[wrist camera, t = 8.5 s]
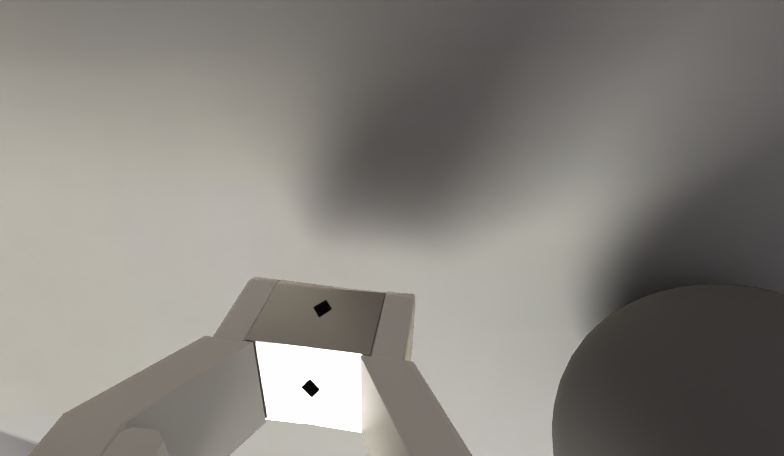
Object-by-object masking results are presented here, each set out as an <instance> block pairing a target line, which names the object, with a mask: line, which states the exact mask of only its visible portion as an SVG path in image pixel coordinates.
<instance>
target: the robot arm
mask: <svg viewBox="0 0 784 456" xmlns="http://www.w3.org/2000/svg"><path fill="white" fill-rule="evenodd" d="M414 314H415V295H414V294H407V293H396V292H377V291H368V290H358V289H348V288H339V287H332V286H324V285H317V284H309V283H302V282H294V281H287V280H276V279H268V278H260V277H254V278H252V279H251V280H249V281H248V283H247V284H246V286H245V287H244V289H243V291H242V292H241V294H240V295H239V297H238V298H237V300H236V302H235V303H234V305H233V306H232V308H231V309H230V311H229V312H228V314H227V316H226V317H225V319H224V320H223V322H222V323H221V325H220V326H219V328H218V330H217V331H216V333H215V334H214V336H213V337H209V336H204V337H202V338H200V339H198V340H197V341H195V342H193V343H191V344H189V345H188V346H186V347H184V348H182V349H180V350H178V351H177V352H175V353H173V354H171V355H169V356H168V357H166V358H164V359H162V360H160V361H159V362H157V363H155V364H153V365H151V366H149V367H148V368H146V369H144V370H142V371H140V372H139V373H137V374H135V375H133V376H131V377H129V378H128V379H126V380H124V381H122V382H120V383H119V384H117V385H115V386H113V387H111V388H110V389H108V390H106V391H104V392H102V393H100V394H99V395H97V396H95V397H93V398H91V399H90V400H88V401H86V402H84V403H82V404H81V405H79V406H77V407H75V408H73V409H71V410H70V411H68V412H66V413H64V414H63V415H62V416H61V417H60V419H59V420H58V421H57V422H56V423H55V425H54V426H53V427H52V428H51V429H50V430H49V432H48V433H47V434H46V435H45V436H44V438H43V439H42V440H41V441H40V442H39V443H38V445H37V446H36V447H35V448H34V449H33V451H32V452H31V453H30V454H29V455H28V456H229V455H230V454H231V453H232V452H234V451H235V450H236V449H237V448H238V447H239V446H240V445H241V444H242V443H243V442H245V441H246V440H247V439H248V438H249V437H250V436H251V435H252V434H253V433H255V432H256V431H257V430H258V429H259V428H260V427H261V426H262V425H263V424H264V423H266V420H265V419H268V420H277V421H286V422H295V423H304V424H313V425H319V426H325V427H331V428H337V429H343V430H349V431H355V432H361V435H362V438H363V441H364V443H365V446H366V449H367V452H368V454H369V456H472V454H471V453H470V451H469V450H468V448H467V446H466V445H465V443H464V442H463V440H462V438H461V437H460V435H459V434H458V432H457V430H456V429H455V427H454V426H453V424H452V423H451V421H450V419H449V418H448V416H447V415H446V413H445V411H444V410H443V408H442V407H441V405H440V403H439V402H438V400H437V399H436V397H435V395H434V394H433V392H432V391H431V389H430V387H429V386H428V384H427V383H426V381H425V379H424V378H423V376H422V375H421V373H420V371H419V370H418V368H417V367H416V365H415V364H414V362H411V354H412V342H413V328H414Z"/></svg>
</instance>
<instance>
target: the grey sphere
mask: <svg viewBox="0 0 784 456" xmlns="http://www.w3.org/2000/svg"><path fill="white" fill-rule="evenodd" d="M552 439H553V454H554V456H784V294H781V293H778V292H775V291H770V290H765V289H761V288H755V287H747V286H738V285H725V284H703V285H690V286H683V287H676V288H672V289H667V290H663V291H660V292H657V293H653V294H650V295H648V296H645V297H643V298H641V299H638V300H636V301H634V302H631V303H629V304H627V305H625V306H624V307H622V308H620V309H618V310H617V311H615V312H614V313H612V314H611V315H610V316H608V317H607V318H605V319H604V320H603V321H602V322H601V323H600V324H598V325H597V326H596V327H595V328H594V329H593V330H592V331H591V332H590V333H589V334H588V335H587V336H586V337H585V339H584V340H583V341H582V343H581V344H580V346H579V347H578V348H577V350H576V351H575V352H574V354H573V355H572V357H571V359H570V361H569V363H568V365H567V367H566V369H565V371H564V374H563V376H562V378H561V380H560V384H559V387H558V391H557V395H556V399H555V404H554V410H553V421H552Z"/></svg>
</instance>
